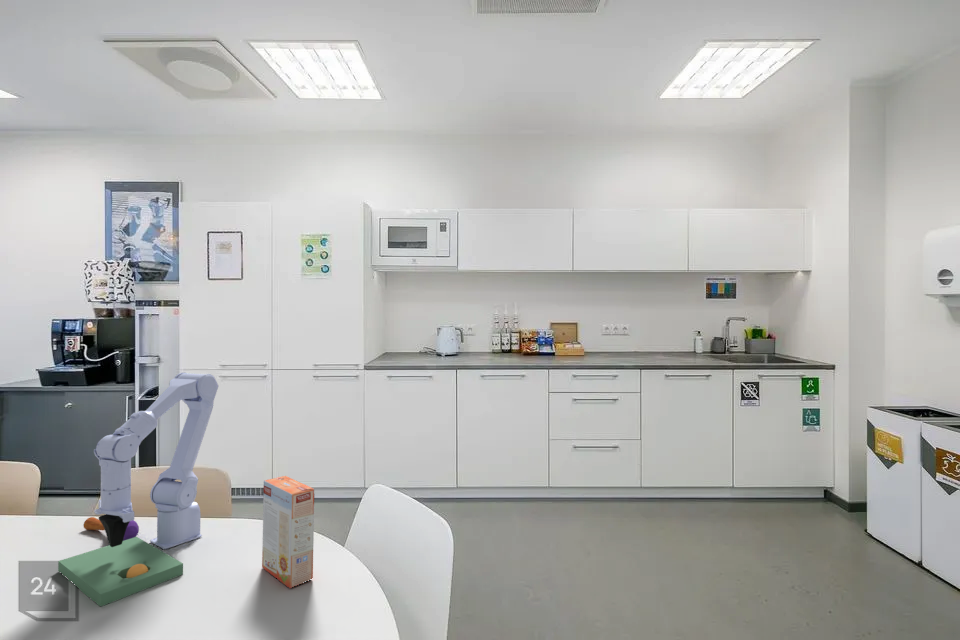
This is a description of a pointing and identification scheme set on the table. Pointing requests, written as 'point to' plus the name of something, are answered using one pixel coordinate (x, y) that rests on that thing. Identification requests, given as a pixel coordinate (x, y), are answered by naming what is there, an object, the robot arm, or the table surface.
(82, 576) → the putting mat
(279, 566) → the cracker box
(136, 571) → the ball
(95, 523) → the kendama
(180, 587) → the table surface
